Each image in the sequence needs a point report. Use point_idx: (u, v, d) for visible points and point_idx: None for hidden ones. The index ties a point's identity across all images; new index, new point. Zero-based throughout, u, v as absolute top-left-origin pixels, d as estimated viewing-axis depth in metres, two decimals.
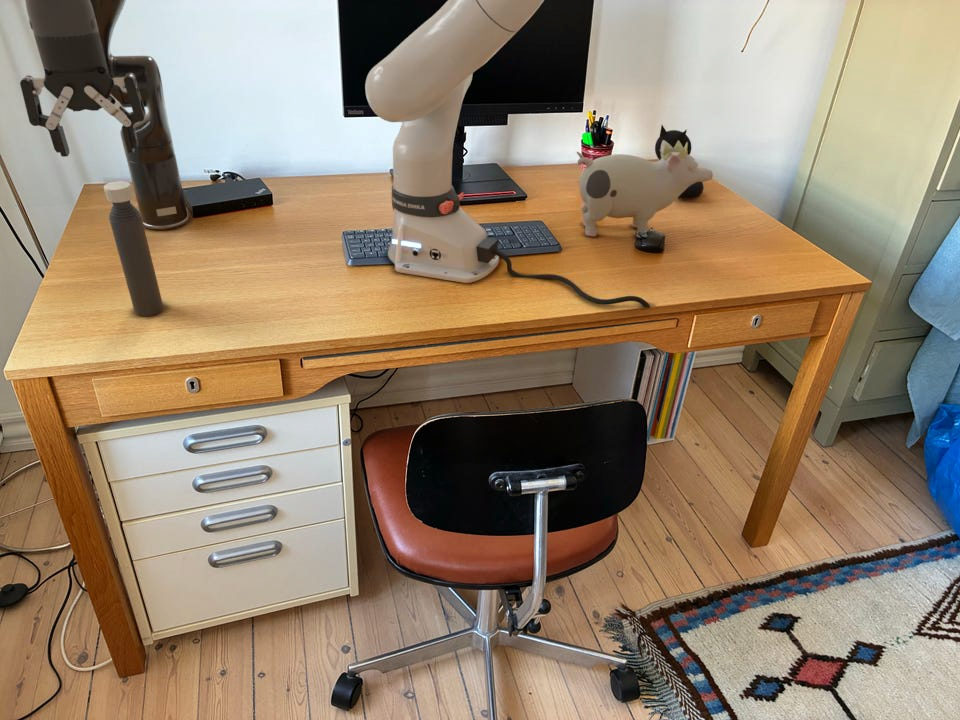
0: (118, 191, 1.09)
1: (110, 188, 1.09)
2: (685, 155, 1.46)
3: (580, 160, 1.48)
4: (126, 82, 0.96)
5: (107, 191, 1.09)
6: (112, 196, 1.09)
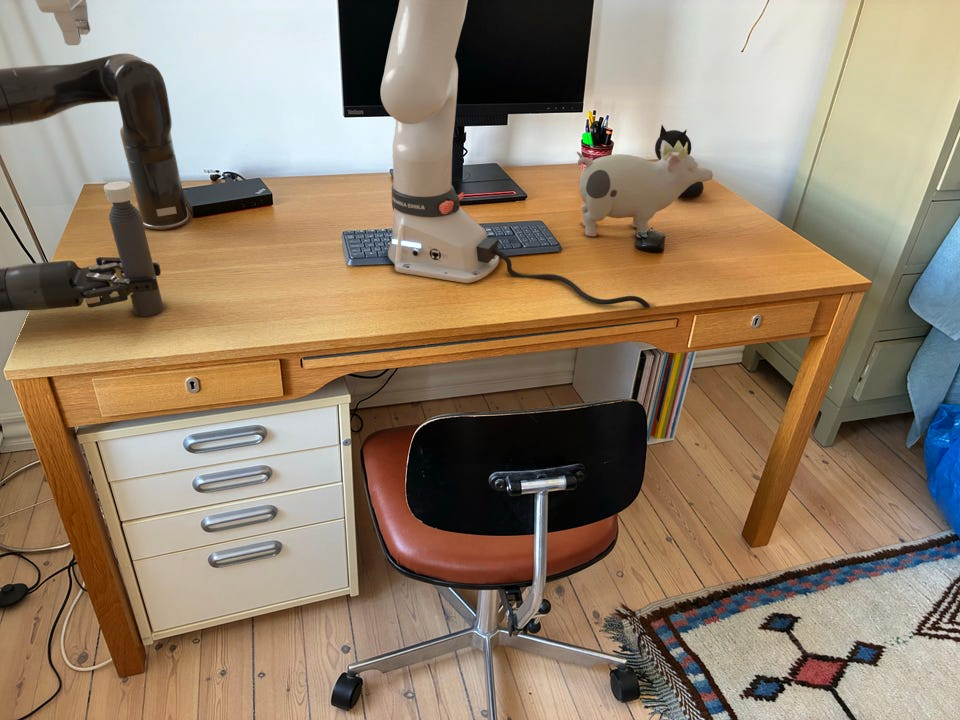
0: (118, 191, 1.09)
1: (110, 188, 1.09)
2: (685, 155, 1.46)
3: (580, 160, 1.48)
4: None
5: (107, 191, 1.09)
6: (112, 196, 1.09)
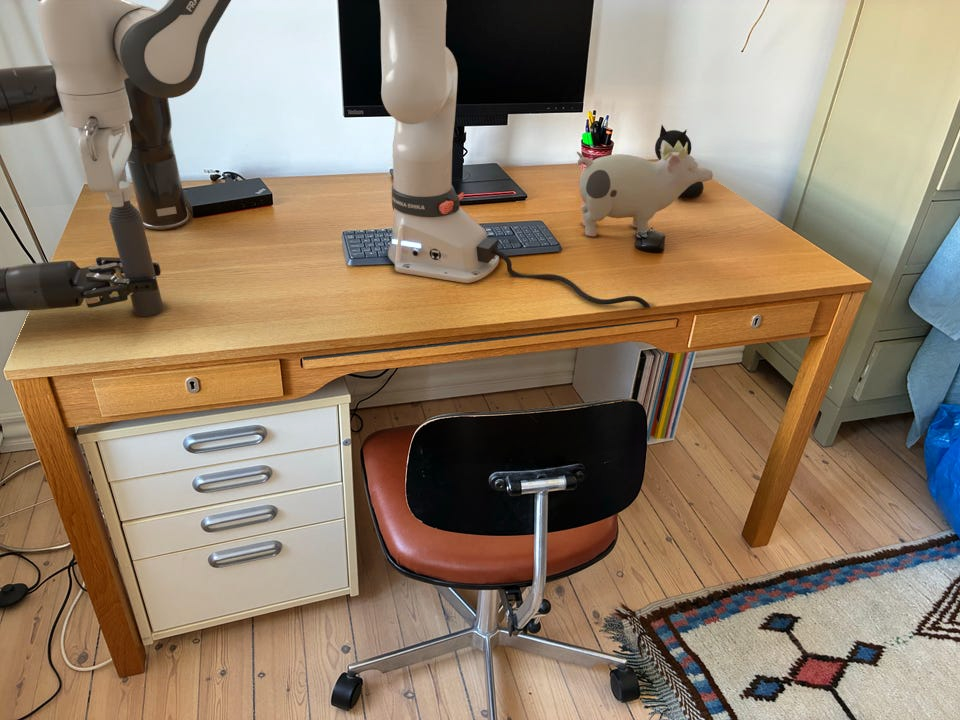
0: None
1: None
2: (685, 155, 1.46)
3: (580, 160, 1.48)
4: None
5: None
6: None
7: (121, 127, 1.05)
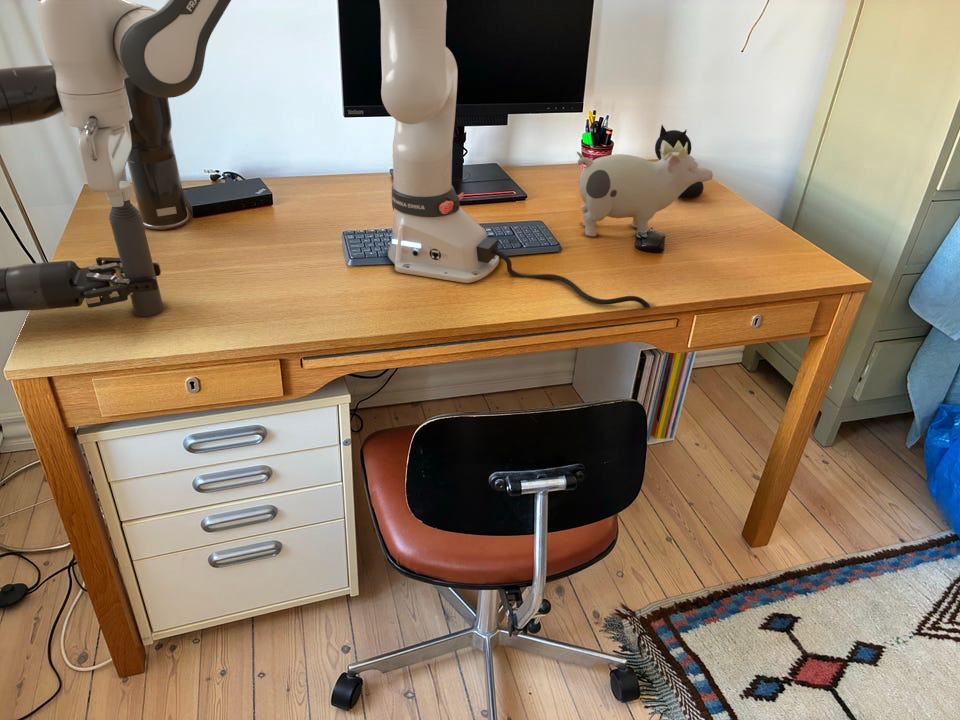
0: (129, 186, 1.11)
1: (123, 186, 1.10)
2: (685, 155, 1.46)
3: (580, 160, 1.48)
4: None
5: (123, 190, 1.09)
6: (128, 193, 1.10)
7: (121, 127, 1.05)
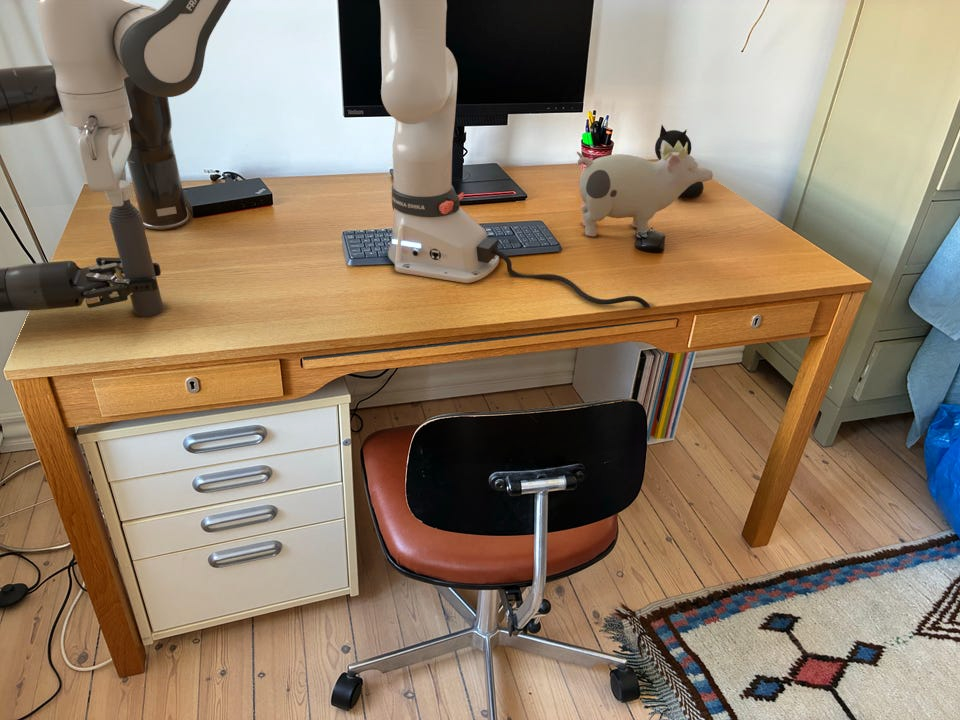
0: None
1: (126, 182, 1.11)
2: (685, 155, 1.46)
3: (580, 160, 1.48)
4: None
5: None
6: None
7: (121, 126, 1.05)
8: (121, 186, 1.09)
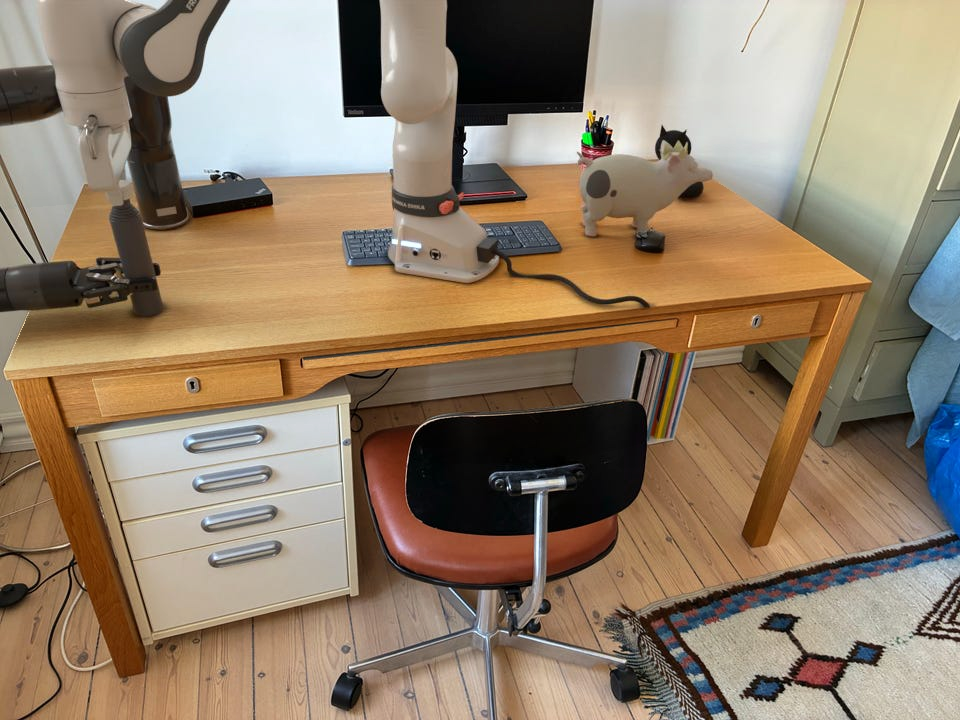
0: None
1: None
2: (685, 155, 1.46)
3: (580, 160, 1.48)
4: None
5: None
6: None
7: (121, 126, 1.05)
8: (125, 182, 1.11)
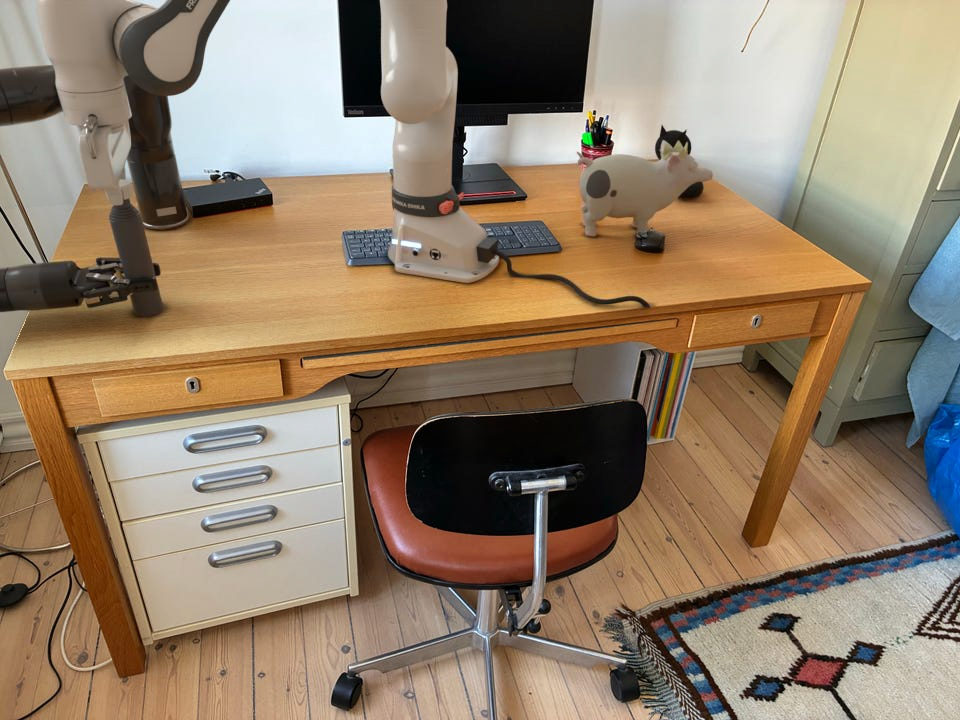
0: None
1: None
2: (685, 155, 1.46)
3: (580, 160, 1.48)
4: None
5: None
6: (104, 191, 1.10)
7: (120, 125, 1.05)
8: None
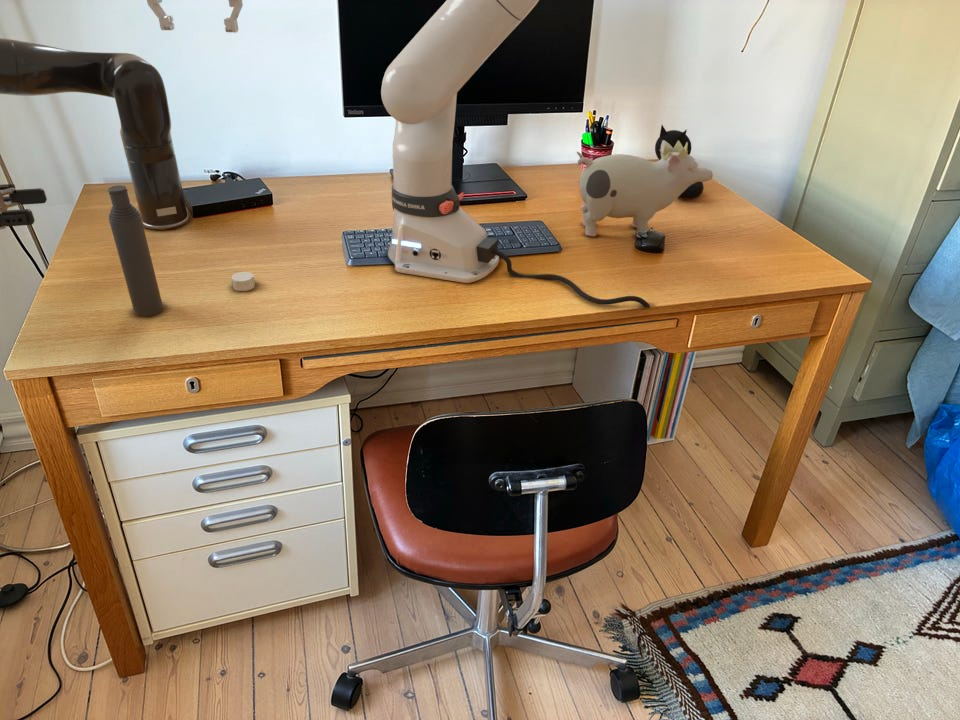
0: (252, 275, 1.30)
1: (250, 277, 1.29)
2: (685, 155, 1.46)
3: (580, 160, 1.48)
4: None
5: (251, 280, 1.29)
6: (253, 282, 1.30)
7: None
8: (239, 279, 1.28)
